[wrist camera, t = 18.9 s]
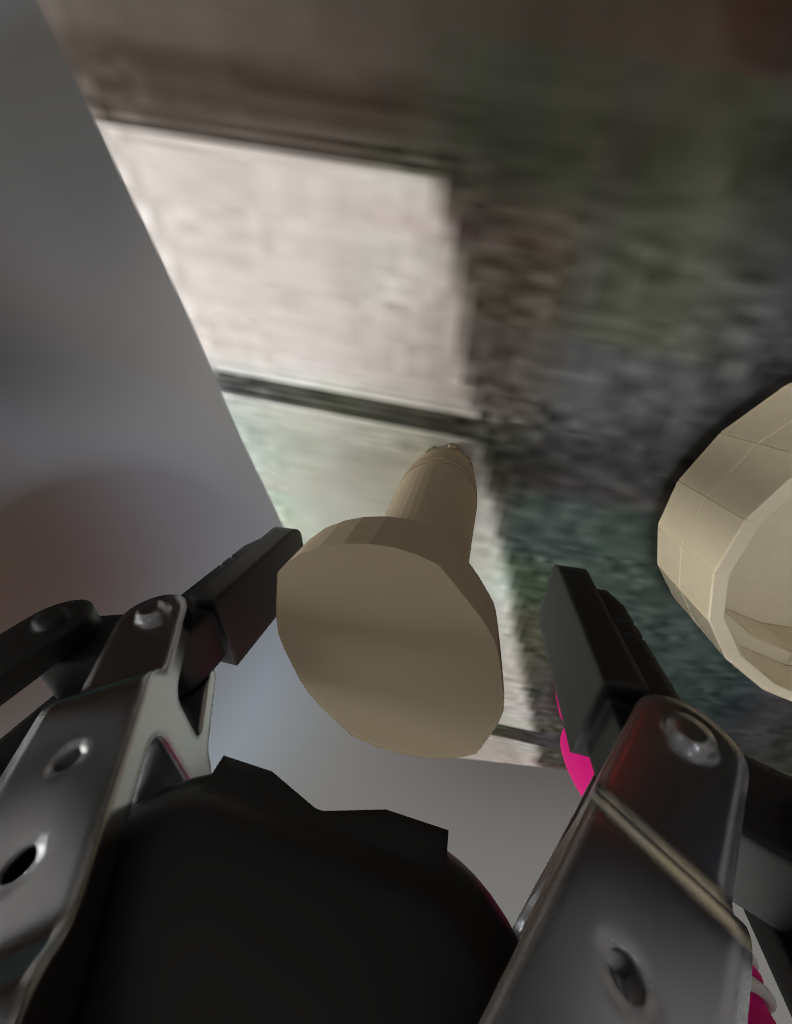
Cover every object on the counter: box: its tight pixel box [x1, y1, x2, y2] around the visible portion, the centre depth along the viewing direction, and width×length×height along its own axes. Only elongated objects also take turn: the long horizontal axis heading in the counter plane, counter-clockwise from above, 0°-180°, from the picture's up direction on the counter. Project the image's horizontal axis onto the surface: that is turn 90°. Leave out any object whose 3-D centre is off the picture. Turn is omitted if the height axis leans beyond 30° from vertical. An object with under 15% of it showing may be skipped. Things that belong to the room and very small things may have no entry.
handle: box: [276, 443, 504, 759], centre depth 13 cm, size 5×6×15 cm
